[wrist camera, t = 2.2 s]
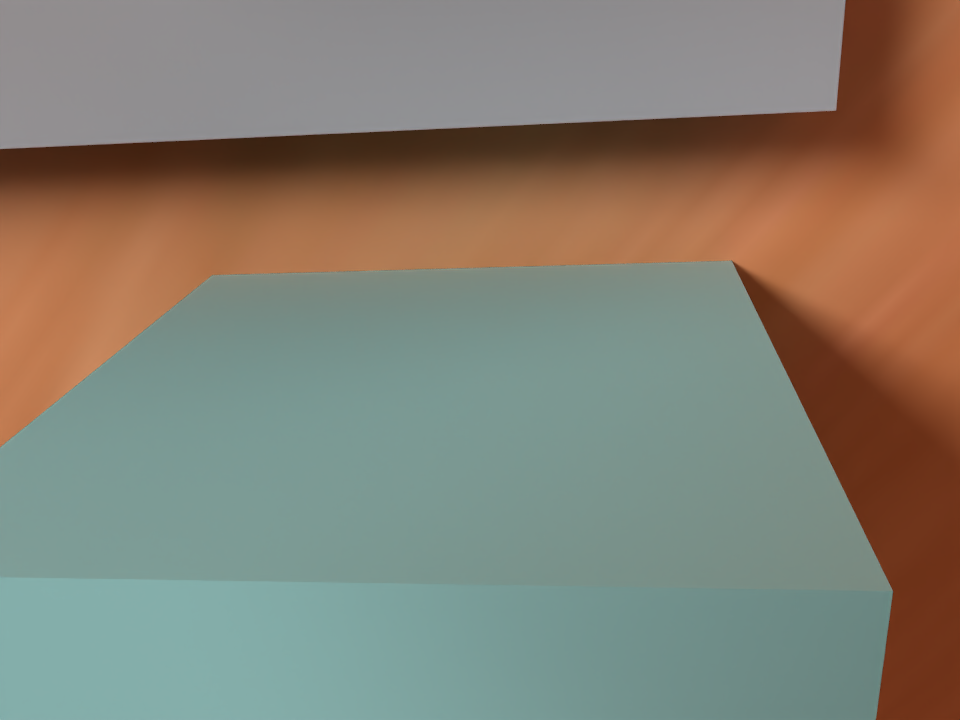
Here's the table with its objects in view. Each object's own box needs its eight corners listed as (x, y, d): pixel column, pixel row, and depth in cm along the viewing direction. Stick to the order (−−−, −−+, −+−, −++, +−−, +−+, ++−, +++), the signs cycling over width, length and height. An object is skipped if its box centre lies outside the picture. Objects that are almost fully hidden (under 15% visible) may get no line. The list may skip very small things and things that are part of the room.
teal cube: (712, 682, 10) (806, 1236, 6) (286, 669, 11) (74, 1163, 7) (729, 257, 9) (895, 591, 4) (215, 272, 9) (-158, 576, 5)
